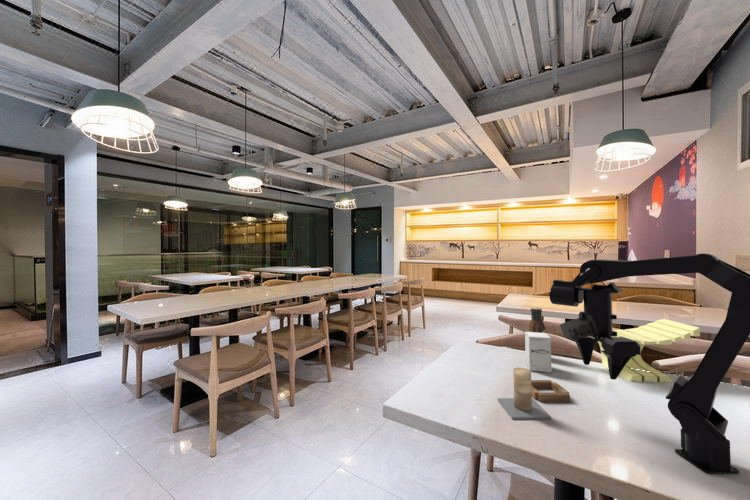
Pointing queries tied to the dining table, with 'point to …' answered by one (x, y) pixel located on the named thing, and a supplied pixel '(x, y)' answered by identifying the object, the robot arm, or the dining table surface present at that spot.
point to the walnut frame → (556, 396)
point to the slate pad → (514, 413)
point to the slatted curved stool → (651, 335)
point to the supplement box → (538, 351)
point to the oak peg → (522, 389)
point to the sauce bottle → (536, 321)
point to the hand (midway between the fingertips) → (599, 371)
